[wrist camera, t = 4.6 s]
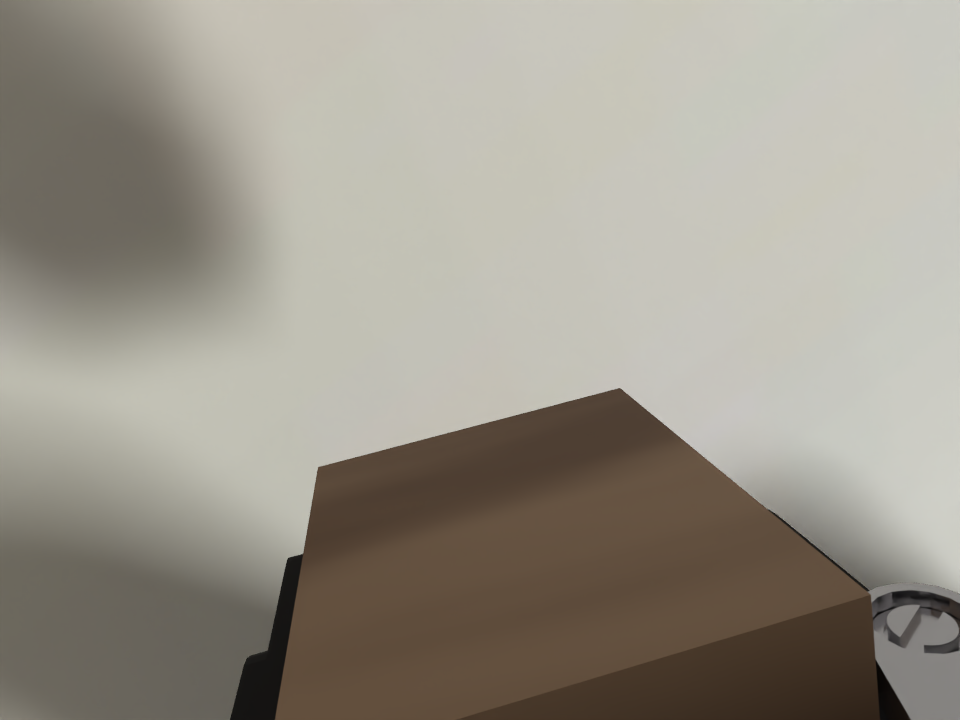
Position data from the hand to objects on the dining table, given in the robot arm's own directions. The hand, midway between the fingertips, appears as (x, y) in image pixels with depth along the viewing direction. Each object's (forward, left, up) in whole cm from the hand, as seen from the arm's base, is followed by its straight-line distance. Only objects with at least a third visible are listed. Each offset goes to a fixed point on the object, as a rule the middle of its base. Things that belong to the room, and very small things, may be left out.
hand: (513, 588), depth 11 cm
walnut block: (0, 0, -1) cm, 1 cm away
